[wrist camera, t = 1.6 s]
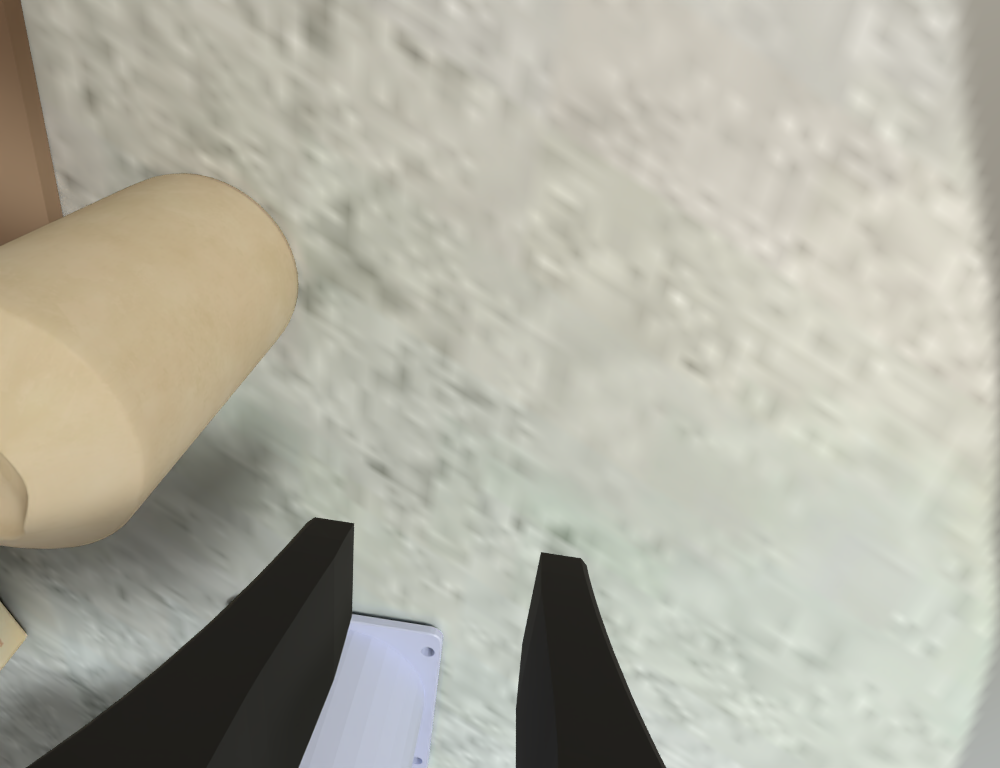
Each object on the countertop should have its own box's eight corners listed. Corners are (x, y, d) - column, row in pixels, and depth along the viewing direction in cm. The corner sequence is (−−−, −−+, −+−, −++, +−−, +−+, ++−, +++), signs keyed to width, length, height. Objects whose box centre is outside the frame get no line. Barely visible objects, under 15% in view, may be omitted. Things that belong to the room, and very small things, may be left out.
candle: (124, 337, 21) (-178, 577, 13) (97, 154, 19) (-310, 303, 10) (301, 367, 21) (119, 628, 13) (301, 188, 19) (67, 367, 10)
